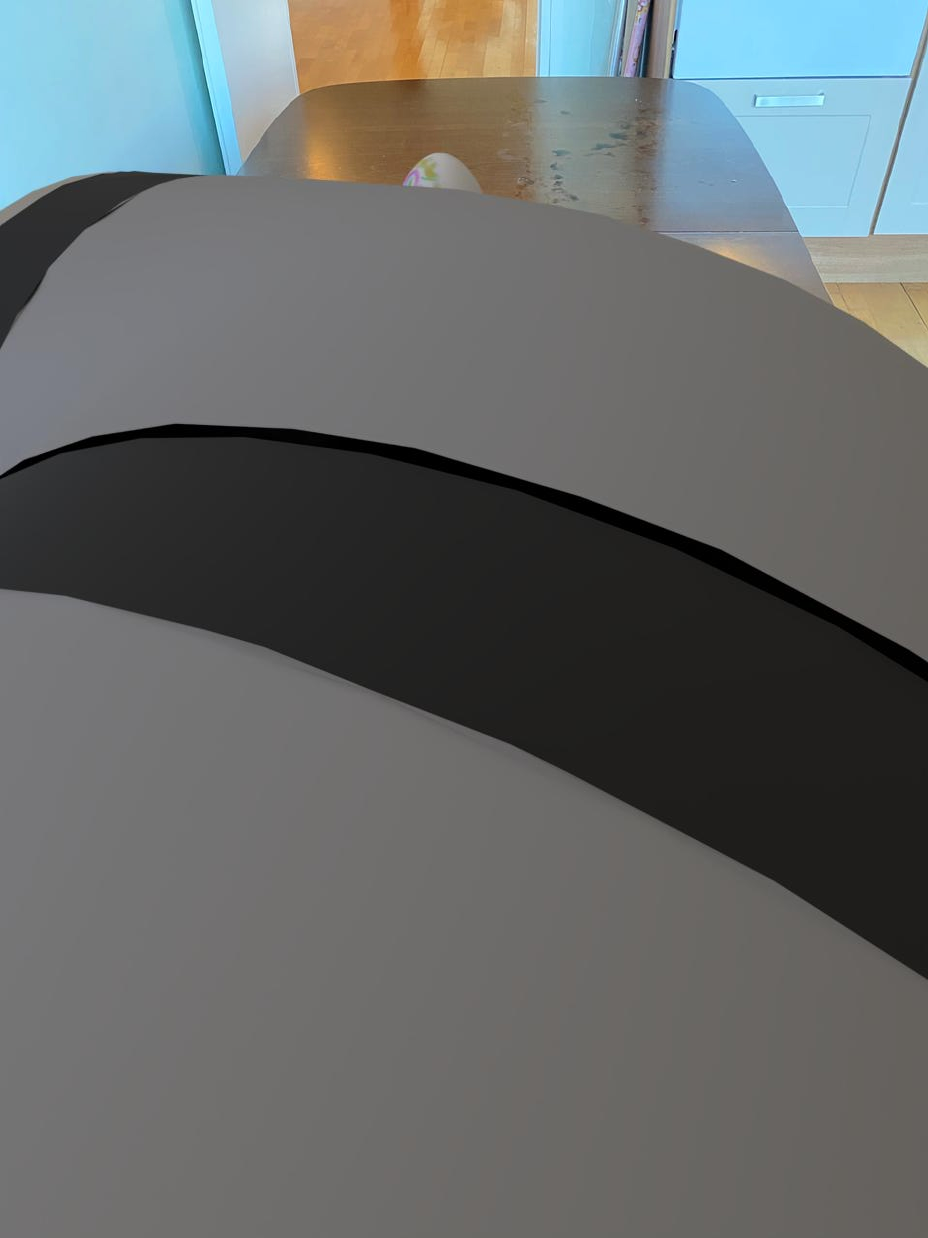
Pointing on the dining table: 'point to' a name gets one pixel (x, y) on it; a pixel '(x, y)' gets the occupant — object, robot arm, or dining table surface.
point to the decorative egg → (442, 174)
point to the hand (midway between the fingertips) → (253, 530)
